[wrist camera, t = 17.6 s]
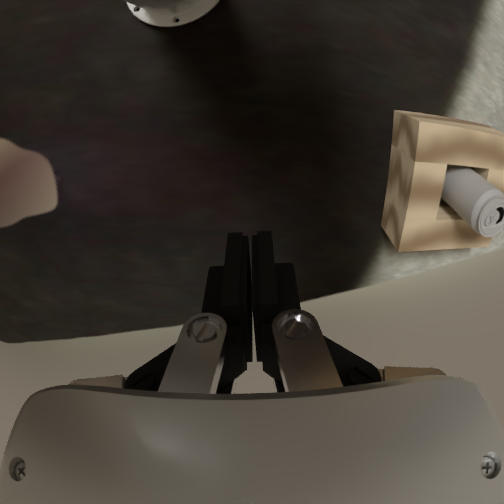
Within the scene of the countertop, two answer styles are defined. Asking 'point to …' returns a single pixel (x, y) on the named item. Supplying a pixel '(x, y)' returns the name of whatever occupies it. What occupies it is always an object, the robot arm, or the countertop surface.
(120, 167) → the countertop surface
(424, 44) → the countertop surface
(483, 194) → the beverage can
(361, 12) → the countertop surface
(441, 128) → the holder block
